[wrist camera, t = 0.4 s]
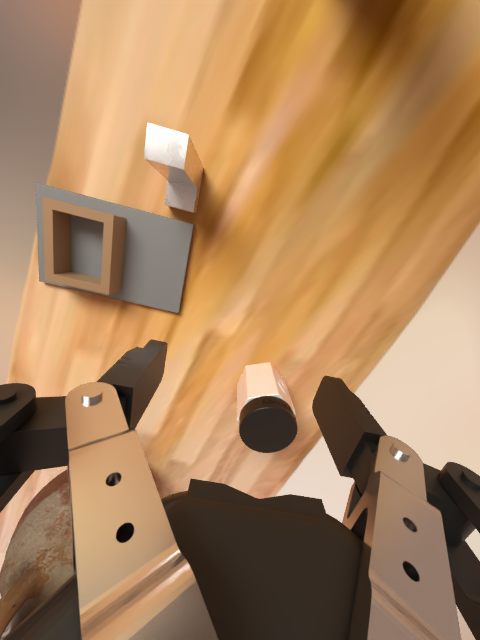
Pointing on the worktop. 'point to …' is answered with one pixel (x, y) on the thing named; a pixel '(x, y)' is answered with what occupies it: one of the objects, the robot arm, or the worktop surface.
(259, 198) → the worktop surface
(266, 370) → the jar
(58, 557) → the jug
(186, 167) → the block
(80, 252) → the board
